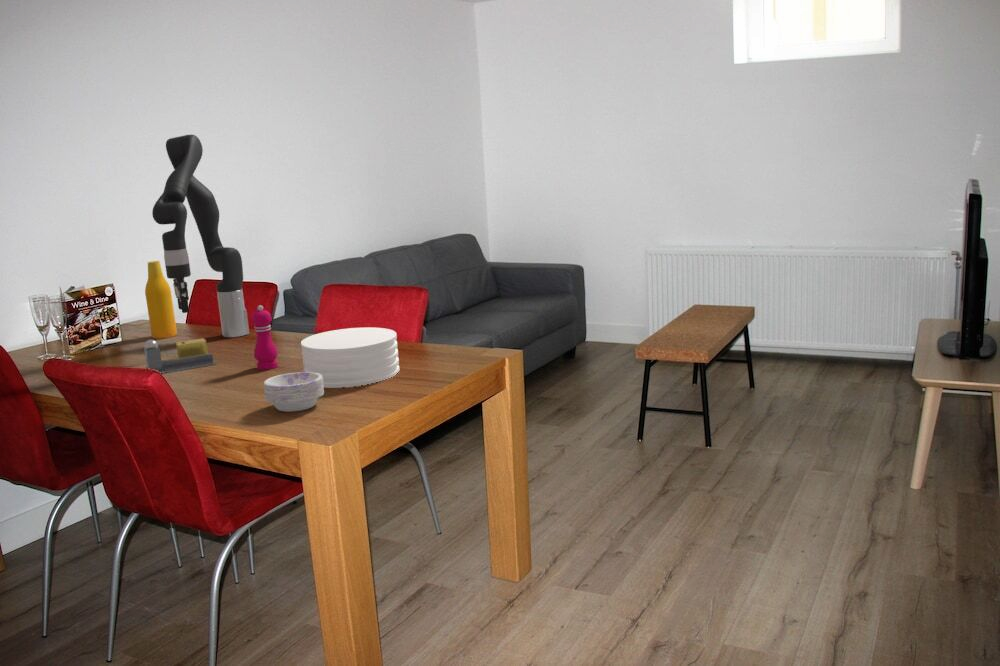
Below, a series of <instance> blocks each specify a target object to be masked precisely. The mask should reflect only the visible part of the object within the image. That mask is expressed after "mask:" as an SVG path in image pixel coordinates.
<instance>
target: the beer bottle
mask: <svg viewBox="0 0 1000 666" xmlns="http://www.w3.org/2000/svg"><path fill="white" fill-rule="evenodd" d="M144 293H145V294H144V295H145V299H146V301H145V302H146V306H147V312H148V318H149V319H148V320H149V327H150V334H151V337H152V339H154V340H156V339H158V340H159V339H169V338H173V337H175V336H176V335H178V330H177V323H176V317H175V310H174V304H173V296H172V290H171V287H170V284H169V283H168V281H167V280H166V277H165V276H164V273H163V270H162V265H161V261H159V260H151V261H147V282H146V284H145V290H144Z"/></svg>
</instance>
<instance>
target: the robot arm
mask: <svg viewBox="0 0 1000 666" xmlns="http://www.w3.org/2000/svg"><path fill="white" fill-rule="evenodd" d="M165 149H166V153H167V157H168V159H169V161H170V162H171V163H170V164H171V166H172V167H173V169H174V170H173V171H172V172H171V173H170V174H169V176H168V177H167V179H166V181H165V185H164V189H163V192H162V193H161V195H160V196H159V198H158V199H157V200H156V202H155V203H154V204H153V207H152V212H151V213H152V215H151V216H152V219H153V221H154V222H155V223H157V224H158V225H175V226H174V227H173V229H172V230H169V231H165V232H163V233H162V235H161V237H162V238H161V239H162V246H163V247H162V248H163V259H164V260H163V261H164V266H165V272H166V273H165V274H166V277H167V279H172V281H173V289H174V290H173V291H174V294H175V298H176V299H177V305H178V309H179V310H181V312H182V314H187V313H189V312H190V308H189V299H190V297H189V290H188V282H186V281H185V278H188V277H190V276H191V275H192V274H191V266H190V265H191V264H190V259H189V254H188V250H187V243H186V237H185V236H186V235H185V234H186V225H187V224H186V223H187V218H188V210H187V207H186V205H185V204H184V202H185V201H186V200H187V204H188V206H189V209H190V211H191V213H192V214H191V215H192V216H193V219H194V222H195V224H196V227H197V230H198V232H199V235H200V237H201V242H202V245H203V249H204V252H205V255H206V259H207V263H208V265H209V267H210V269H212V271H215V272H217V273H222V279H221V281H218V282H217V283H216V284H215V288H216V294H217V295H216V296H217V303H218V309H219V317H220V318H219V319H220V325H221V332H222V333H221V334H222V337H224V338H238V337H242V336H245V335H250V328H249V319H248V311H247V309H246V307H245V300H244V299H245V298H244V292H243V282H244V269H243V260H242V256H241V253H240V252H239V250H238V249H237V248H234V247H227V246H226V247H225V246H224V245H223V243H222V241H221V237H220V235H219V221H220V209H219V206H218V204H217V200H216V198H215V196H214V194H213V192H212V191H211V190H210V189H209V188H208V187H207V186H205V184H203V182H201V180H198V178H196V177H195V175H194V173H195V171H196V169H197V167H198V165H199V163H200V162H201V159H202V156H203V145H202V142H201V140H200V139H199V137H198V136H197V135H195V134H184V135H180V136H175V137H171V138H170V137H169V138H168V139H167V140H166V142H165Z"/></svg>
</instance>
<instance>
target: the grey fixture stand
mask: <svg viewBox="0 0 1000 666" xmlns="http://www.w3.org/2000/svg"><path fill="white" fill-rule="evenodd" d="M143 352H144V356H145V363H146V366H147V367H146V369H147V368H150V369H155V370H158V371H159V372H161V373H162V372H164V373H163V374H168V372H169V373H175V372H180V371H185V370H186V371H187V370H191V369H197V368H204V367H209V366H215V365H217V363H216V361H215V360H214V357H213V353H212V352H208V353H207V354H201V355H195V356H188V357H182V358H178V357H177V358H171V359H170V358H169V359H164V360H162V357H161V350H160V347H159V344H158V342H157V340H156V339H148V340H147V341H145V343H144V346H143ZM174 371H175V372H174ZM166 372H167V373H166Z"/></svg>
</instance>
